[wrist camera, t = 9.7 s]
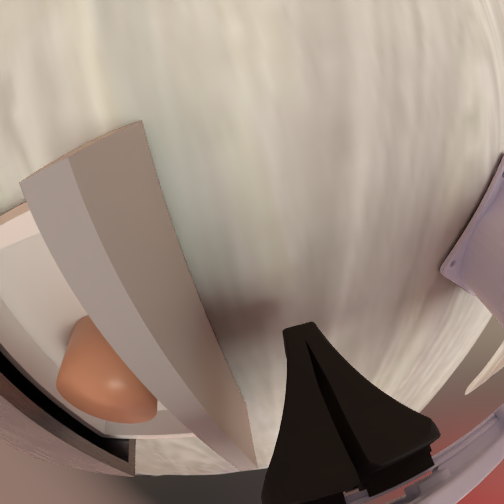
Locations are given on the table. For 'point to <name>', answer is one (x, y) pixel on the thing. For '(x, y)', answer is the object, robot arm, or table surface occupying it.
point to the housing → (60, 436)
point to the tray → (115, 293)
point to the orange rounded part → (102, 379)
